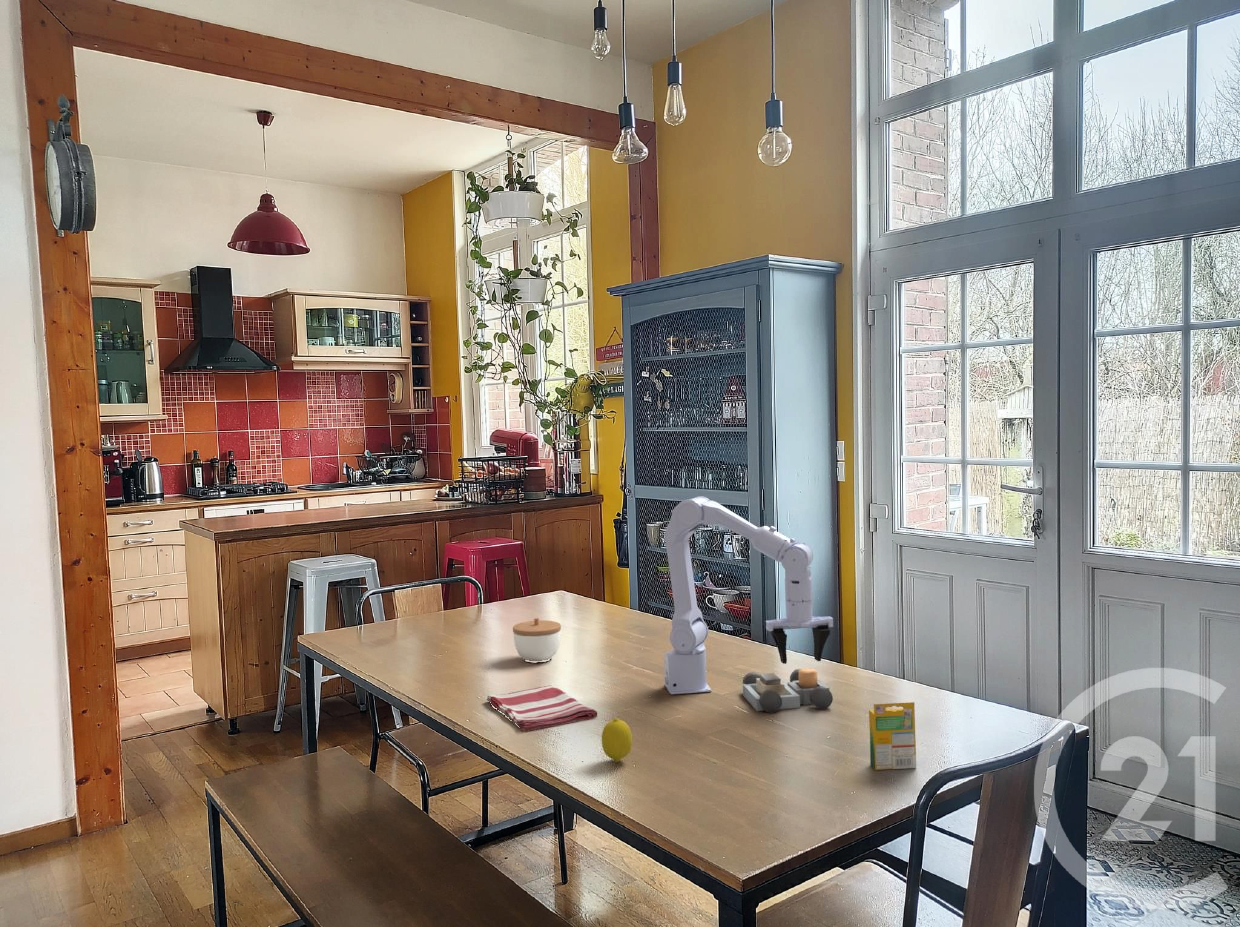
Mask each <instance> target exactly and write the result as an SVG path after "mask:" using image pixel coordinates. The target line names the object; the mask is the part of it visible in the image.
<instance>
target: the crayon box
mask: <svg viewBox="0 0 1240 927" xmlns="http://www.w3.org/2000/svg"><path fill="white" fill-rule="evenodd" d="M893 707H896V708H893ZM899 707H900V708H899ZM887 708H890V709H887ZM915 711H916V710H915V702H913V701H911V702H894V703H873V709H869V710H868V718H869V722H868V723H869V752H870V753H869V758H870V762H869V763H870V765H871V767H872V768H873V769H874V770H875V771H881V770H882V771H883V770H899V769H900V770H902V769H914V770H915V769H917V750H916V749H917V748H916V717H915Z"/></svg>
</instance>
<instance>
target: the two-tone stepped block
mask: <svg viewBox="0 0 1240 927" xmlns="http://www.w3.org/2000/svg"><path fill="white" fill-rule="evenodd" d="M759 676H760V678H756V692H757V694H758V695H759V696H761V694H762V693H763V692H764V691H766V690H774V691H776V692H777V693H778V694H779V695H780V696H781V695H785V685H784V684H783V683H782V682H781V681H782V680H781V679H782V678H780V677H779V676H777V675H776V674H775V673H774V672H771V673H759Z"/></svg>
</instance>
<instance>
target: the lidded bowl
mask: <svg viewBox="0 0 1240 927" xmlns="http://www.w3.org/2000/svg"><path fill="white" fill-rule="evenodd" d="M561 627H562V626H561V623H559V622H557V621H555V620H545V619H544V620H543V619H542V620H541V619H540V618H539V617H535V618H533V620H530V621H529V620H528V621H524V622H523V621H522V622H518V623H516V624H514V625H513V626H512V632H513V641H514V642H513V643H514V647H515V650H516V653H517V654H518V655H519V656H520V657H521V658H522V659H523V660H524V659H525V660H529V661H542V660H548V659H551V658H553V657H554V656H555V655H556V654H557V652H558V651H559V648H560V645H561V644H560V643H561V629H562V628H561ZM551 660H552V659H551Z"/></svg>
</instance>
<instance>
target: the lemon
mask: <svg viewBox="0 0 1240 927" xmlns="http://www.w3.org/2000/svg"><path fill="white" fill-rule="evenodd" d="M632 746H633V735H632V732H631V728H630V727H629V725H628V723H626V722H625V721H624V720H621V719H619V718H618V717H616V718H614V719H612V720H610V721H608V722H607V723H606V724H605V726H604V727H603V729H602V733H601V747H602V750H603V752H604V754H605V755H606V756H607V757H608V758H610V759H612V760H614V761H615V762H616V763H619V762H621V760H622V759H624V758H625V757H627V756H628V755H630V751H631V750H632Z"/></svg>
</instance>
